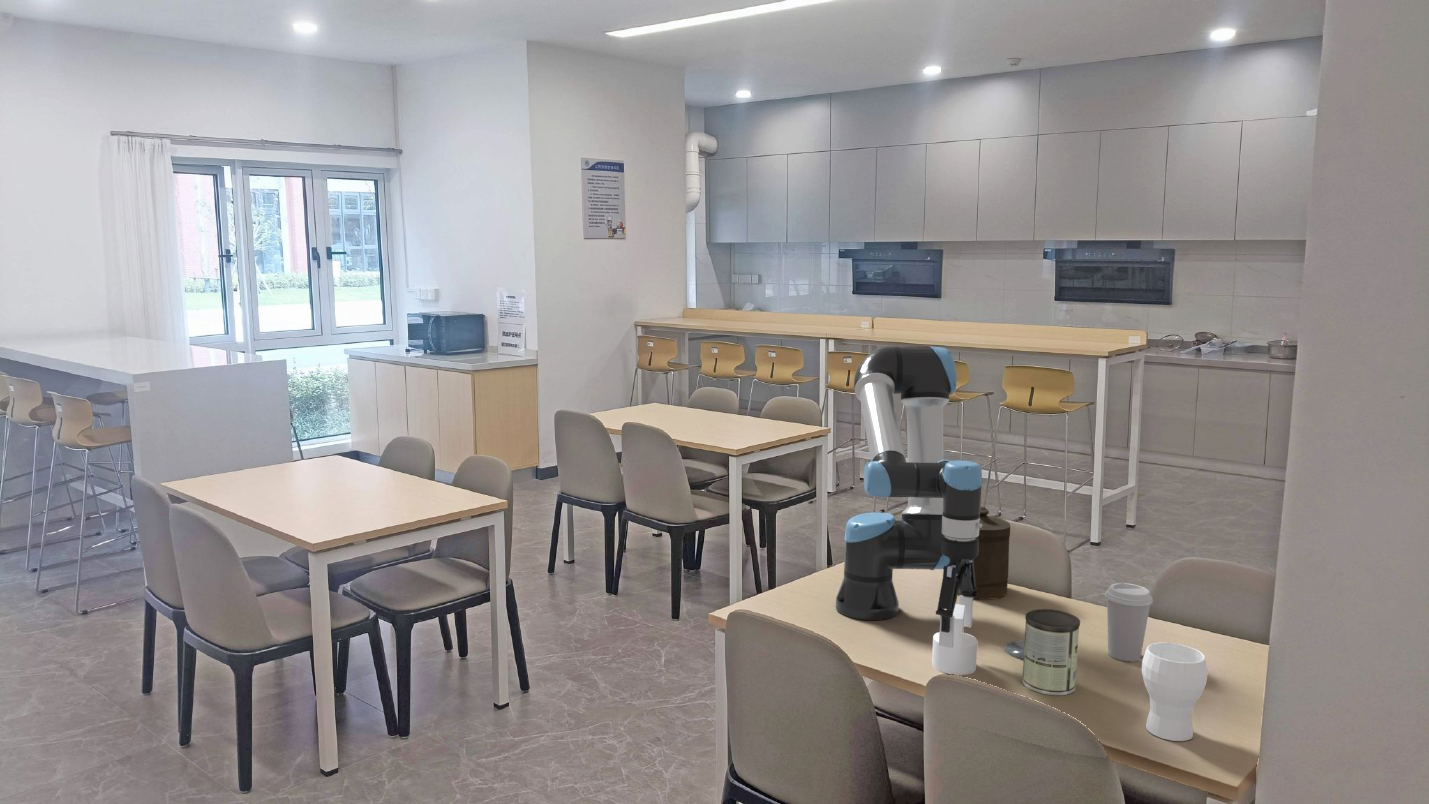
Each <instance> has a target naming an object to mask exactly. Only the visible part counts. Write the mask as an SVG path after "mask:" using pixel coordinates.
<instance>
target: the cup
mask: <svg viewBox="0 0 1429 804" xmlns="http://www.w3.org/2000/svg"><path fill="white" fill-rule="evenodd" d="M1207 666H1208V665H1207V660H1206V657H1205V654H1204V653H1203V652H1201V651H1200V650H1198V649H1196V648H1194V647H1191V646H1188V645H1184V644H1180V643H1175V642H1174V643H1173V642H1154V643H1151V644H1149V645H1147V647H1146V649H1145V652H1144V655H1143V657H1142V661H1141V674H1142V679H1143V684H1144V686H1145V688H1146V691H1147V692H1148V695H1149V707H1150V708H1149V713H1148V716H1147V719H1146V722H1145V723H1146V725H1145V729H1146V730H1147V731H1148V732H1149V733H1150V734H1151V735H1153V736H1155V737H1158V738H1160V739H1163V740H1167V741H1173V742H1185V741H1189V740H1191V739H1193V736H1194V729H1193V728H1194V727H1193V718H1192V716H1193V711H1194V707H1195V704H1196V703H1197V701H1198V700H1199V699H1200V698H1201V696H1202V694H1203V692H1204V690H1205V688H1206V685H1207V682H1208V667H1207Z"/></svg>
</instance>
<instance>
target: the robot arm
mask: <svg viewBox="0 0 1429 804" xmlns="http://www.w3.org/2000/svg"><path fill="white" fill-rule="evenodd" d="M859 363H860V364H859V365H858V367H857V369H856V370H855V374H854V378H853V388H854V389H853V390H854V394H855V396H856V399H857V400H858V401H860V405H861V410H862V417H863V418H862V419H863V421H864V422H863V423H864V429H865V435H866V440H867V441H866V442H867V446H868V452H869V458H870V461H869V462H868V461H867V462H866V464H865V465H864V467H863V468H864V470H863V487H864V492H865V493H866V495H868V496H869V497H876V498H877V497H878V498H884V499H885V498H886V499H888V498H907V507H906V508H905V509H903V511H902V512H901V520H896V518H895V516H894V515H893V514H891V513H889V512H881V511H880V512H879V511H877V512H876V511H875V512H874V511H873V512H865V513H860V514H857V515H855V516H852V517H851V518H850V519H848V520H847V522H846V524H845V533H844V534H845V535H844V538H843V540H844V565H843V567H844V568H843V579H842V582H841V584H840V587H839V589H838V592H837V595H836V598H835V610H837V612H838V613H840V614H842V615H843V616H846V617H848V618H851V619H852V618H853V619H858V620H865V621H879V620H880V621H881V620H887V619H891V618H893V617H895V616H897V615H898V613H899V611H900V610H899V608H900V607H899V606H900V605H899V603H900V602H899V598H898V596H897V591H896V588H895V585H894V582H893V571H894V570H930V571H935V570H943V571H942V572H943V573H942V579H941V580H942V581H941V586H940V592H939V598H938V602H937V603H938V604H937V609H936V610H935V615H937V616H939V646H944V647H949V648H953V639H954V616H953V612H954V608H955V604H957V599H958V591H959V588H960V590H961V594H963V595H959V600H958V602H959V603H958V604H960V605H965V615H964V628H972V627H973V609H974V608H973V606H974V598H973V597H971V596H974V597H977V594H978V592H976V589H977V587H976V578H975V569H974V558H976V557H977V556H978V551H979V540H978V538H976V537H978V536H979V528H981V527H982V524H981V523H979V521H980V507H982V506H981V504H982V503H981V502H982V487H983V482H984V480H983V470H982V469H983V467H982V466H981V464H980V463H978V462H974V461H970V460H956V459H955V460H949V459H944V457H945V456H944V407H946V405H947V404H948V403H949V402H950V396H952V395H954V394H955V392H956V390H957V380H958V379H957V377H958V376H957V369H956V368H957V367H956V364H955V363H956V362H955V359H954V356H953V355H952V353H951V351H949V349H947V348H945V347H939V346H931V345H928V346H917V345H916V346H915V345H914V346H894V345H888V346H882V347H879V348H877V349H874V350H873V351H872V352H870V353H868V355H866V356H865V357H864V358H863V359H862V361H861V362H859ZM894 394H899V395H900V403H902V405H904V406H905V408H906V413H907V414H906V415H907V417H906V418H907V419H906V420H907V421H906V422H907V423H906V425H907V426H906V427H907V429H906V430H907V435H906V437H907V439H906V440H907V441H906V442H907V460H906V455H905V449H904V444H903V440H902V435H901V431H900V430H901V429H900V425H899V421H898V417H897V411H896V406H895V401H894V397H893V396H894Z"/></svg>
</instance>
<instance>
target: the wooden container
mask: <svg viewBox="0 0 1429 804" xmlns="http://www.w3.org/2000/svg"><path fill="white" fill-rule="evenodd" d="M989 513H990V511H989V509H988V508H986V507H985V506H981V507H980V521H979V523H981V524H982V527H981V528H979V536H978V537H976V538H978V540H979V551H978V556H977V557H976V558H974V569H975V578H976V587H977V589H976V592H978V594H977V597H974V596H971V597H973V599H976V598H977V599H976V600H994V599H999V598H1003V597H1005V596H1006V595H1007V593H1008V584H1009V582H1008V580H1009V566H1010V565H1009V564H1010V563H1009V561H1010V559H1009V557H1010V554H1009V553H1010V536H1011V524H1010V522H1009V521H1007V520H1005V519H1002V518H998V517H996V516H991V515H990V516H989ZM958 595H959V596H960V595H963V594H961V590H960V588H959V591H958ZM958 595H957V596H958Z"/></svg>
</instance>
